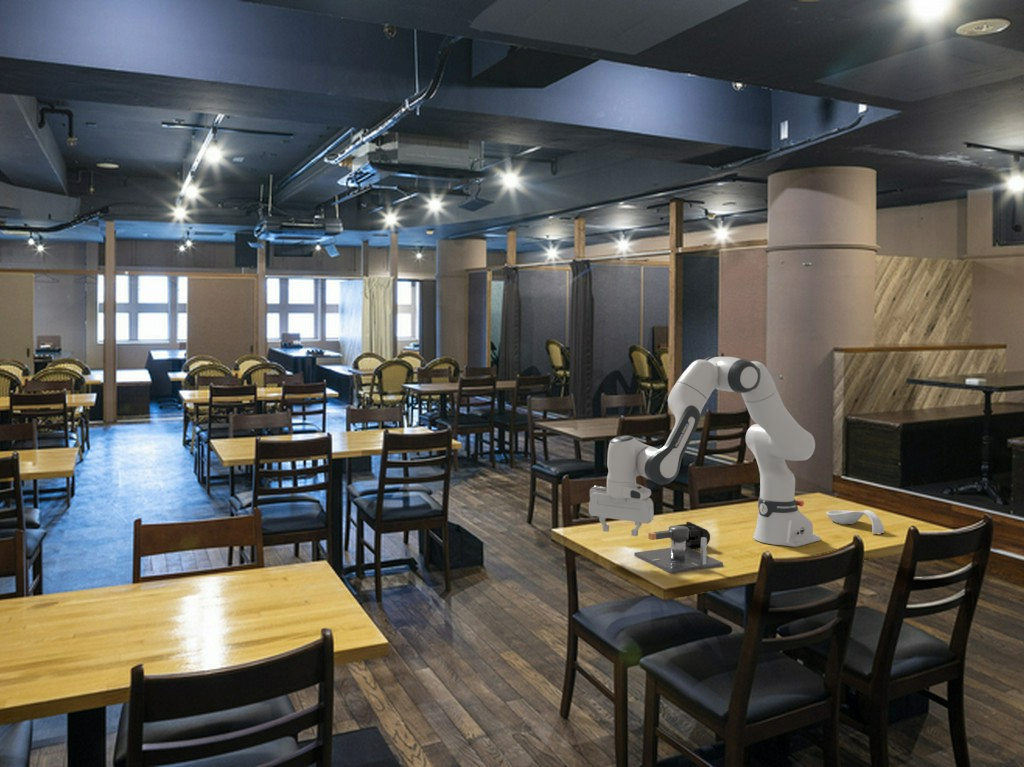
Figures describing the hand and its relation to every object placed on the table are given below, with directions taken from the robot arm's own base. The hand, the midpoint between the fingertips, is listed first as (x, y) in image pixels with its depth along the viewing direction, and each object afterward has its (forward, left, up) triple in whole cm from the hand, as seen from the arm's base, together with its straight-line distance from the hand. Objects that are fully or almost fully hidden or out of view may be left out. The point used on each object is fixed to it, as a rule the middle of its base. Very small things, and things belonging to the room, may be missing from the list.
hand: (620, 533), depth 246 cm
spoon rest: (-101, 0, -9) cm, 101 cm away
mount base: (-16, +8, -8) cm, 20 cm away
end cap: (-31, -4, -8) cm, 32 cm away
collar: (-12, +8, -1) cm, 15 cm away
